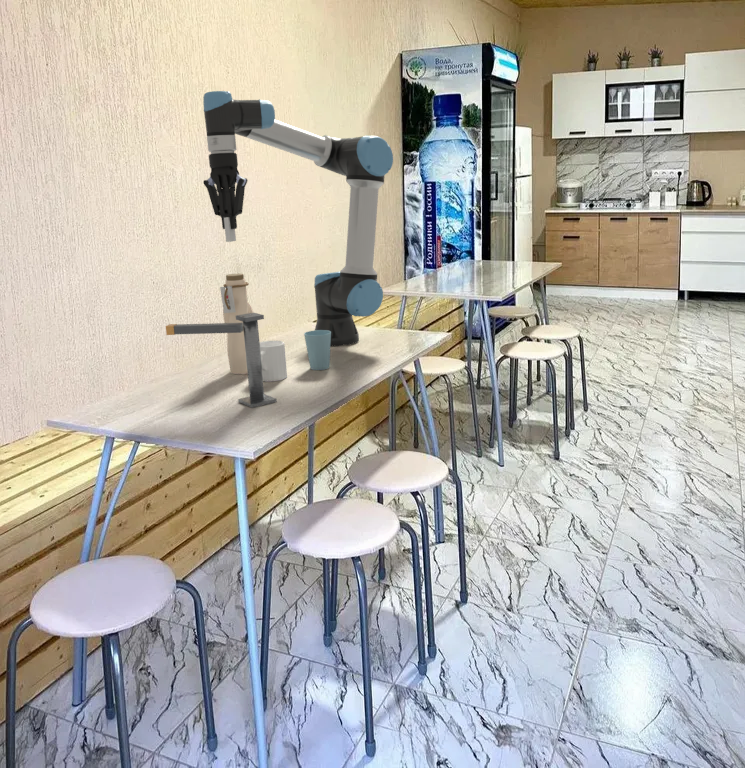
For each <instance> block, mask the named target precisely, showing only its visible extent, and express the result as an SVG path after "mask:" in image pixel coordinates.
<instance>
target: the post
mask: <svg viewBox="0 0 745 768" xmlns="http://www.w3.org/2000/svg"><path fill="white" fill-rule="evenodd" d="M236 320H239V321H243V330H244V341H245V351H246V362H247V373H248V374H247V384H248V390H249V391H248V392H249V396H246V397H242V398H238V399H237V400H238V403H240V404H242V405H244V406H247V407H248V408H251V409H253V408H257V407H261V406H265V405H269V404H274V403H277V398H275V397H273V396H272V395H267V393H265V391H264V390H265V389H264V381H263V376H262V364H261V353H260V342H261V341H260V334H259V332H260V331H259V323H258V322H259V321H260V320H265V315H264V314H262V313H261V314H260V313H257V312H254V313H248V314H242V315H236Z"/></svg>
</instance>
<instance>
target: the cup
mask: <svg viewBox="0 0 745 768" xmlns="http://www.w3.org/2000/svg"><path fill="white" fill-rule="evenodd" d="M303 336H304V340H305V346H306V352H307V357H308V362H309V367H310V369H311V370H313V371H324V370H327V369H328V370H329V368H330V364H331V359H330V358H331V346H330V343H331V331H328V330H315V329H313V330H308V331H306V332H304V333H303Z"/></svg>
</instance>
